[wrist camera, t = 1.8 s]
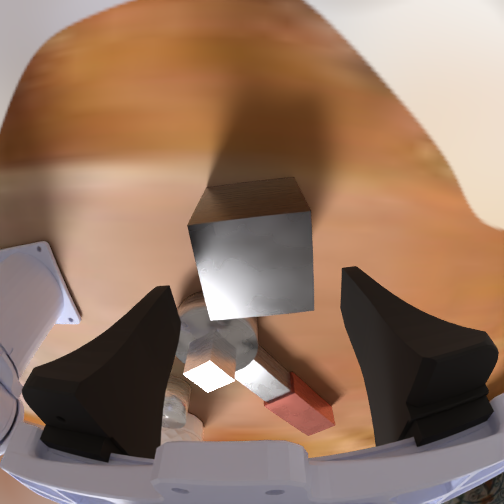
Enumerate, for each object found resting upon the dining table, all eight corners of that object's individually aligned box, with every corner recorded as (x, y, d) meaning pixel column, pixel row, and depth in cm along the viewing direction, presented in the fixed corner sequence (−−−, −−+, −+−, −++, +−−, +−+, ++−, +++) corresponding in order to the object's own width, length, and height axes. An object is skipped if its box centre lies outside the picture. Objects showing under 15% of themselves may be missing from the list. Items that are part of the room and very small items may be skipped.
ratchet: (160, 315, 24) (141, 366, 19) (221, 275, 22) (212, 327, 17) (293, 422, 31) (297, 463, 26) (344, 400, 29) (354, 443, 24)
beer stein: (384, 450, 37) (412, 587, 14) (490, 375, 29) (555, 520, 7) (429, 458, 41) (456, 562, 19) (512, 397, 34) (559, 504, 12)
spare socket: (162, 396, 29) (155, 427, 25) (150, 375, 27) (141, 407, 24) (195, 397, 29) (190, 429, 25) (185, 375, 27) (179, 409, 23)
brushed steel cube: (220, 263, 21) (210, 320, 16) (206, 187, 19) (187, 225, 14) (299, 255, 21) (314, 310, 16) (294, 177, 19) (310, 211, 13)
